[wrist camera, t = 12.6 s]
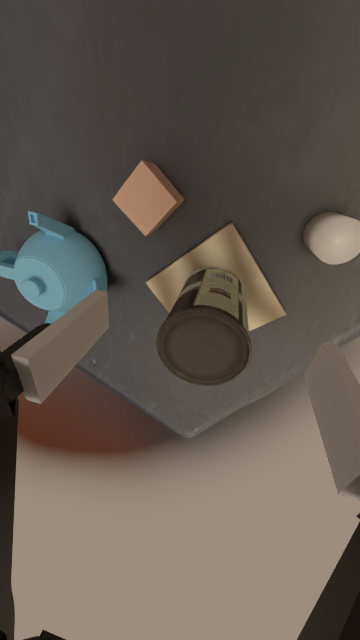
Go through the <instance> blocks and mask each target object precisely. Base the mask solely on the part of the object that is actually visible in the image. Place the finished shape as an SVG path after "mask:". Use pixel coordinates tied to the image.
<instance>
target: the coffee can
mask: <svg viewBox="0 0 360 640" xmlns="http://www.w3.org/2000/svg"><path fill="white" fill-rule="evenodd" d="M246 300H247V293H246V289H245V286H244V284H243V282H242V281H241V279H240V278H239V277H238V276H237V275H236V274H235V273H234V272H232V271H230V270H228V269H225V268H222V267H205V268H202V269H199V270H197V271H195V272H194V273H193V274H191V275H190V276H189V277H188V279H187V280H186V281H185V283H184V286H183V288H182V290H181V292H180V294H179V296H178V298H177V300H176V302H175V304H174V306H173V308H172V310H171V311H170V313H169V315H168V317H167V319H166V320H165V321H164V323H163V324H162V326H161V328H160V330H159V332H158V335H157V350H158V354H159V356H160V359H161V361H162V362H163V364H164V365H165V366H166V367H167V369H168V370H169V371H171V372H172V373H173V374H174V375H176V376H177V377H179V378H181V379H182V380H185V381H187V382H189V383H193V384H197V385H203V386H215V385H221V384H225V383H228V382H230V381H232V380H234V379H235V378H237V377H238V376H240V375H241V374H242V373H243V372H244V370H245V369H246V368H247V366H248V364H249V362H250V359H251V352H252V348H251V341H250V338H249V328H248V314H247V302H246Z"/></svg>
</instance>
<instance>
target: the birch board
mask: <svg viewBox="0 0 360 640" xmlns="http://www.w3.org/2000/svg"><path fill="white" fill-rule="evenodd" d="M205 267H222V268H225V269H228V270H230V271H232V272H234V273H235V274H236V275H237V276H238V277H239V278H240V279H241V281H242V282H243V284H244V286H245V289H246V293H247V300H246V302H247V314H248V328H249V331H251V330H253V329H255V328H258V327H260V326H262V325H264V324H266V323H269V322H271V321H273V320H275V319H278V318H280V317H282V316H284V315H286V313H285V310H284V308H283V307H282V305H281V303H280V301H279V300H278V298H277V296H276V295H275V293H274V291H273V290H272V288H271V286H270V285H269V283H268V281H267V279H266V278H265V276H264V274H263V273H262V271H261V269H260V268H259V266H258V264H257V263H256V261H255V259H254V257H253V256H252V254H251V252H250V251H249V249H248V247H247V246H246V244H245V242H244V240H243V239H242V237H241V235H240V234H239V232H238V230H237V229H236V227H235V225H234V224H233V222H231V223H229V224H228V225H226V226H225V227H223V228H222V229H221V230H219V231H218V232H216V233H215V234H213V235H212V236H211V237H209V238H208V239H206V240H205V241H203V242H202V243H201V244H199V245H198V246H196V247H195V248H193V249H192V250H190V251H189V252H188V253H186V254H185V255H183V256H182V257H180V258H179V259H178V260H176V261H175V262H173V263H172V264H170V265H169V266H168V267H166V268H165V269H163V270H162V271H160V272H159V273H158V274H156V275H155V276H153V277H152V278H150V279H149V280H148V281H147V282H146V284H147V285H148V287H149V288H150V289H151V290H152V292H153V293H154V294H155V296H156V297H157V298H158V299H159V301H160V302H161V303H162V305H163V306H164V307H165V308H166V310H167V311H168V312H169V313H170V311H171V310H172V308H173V306H174V304H175V302H176V300H177V298H178V296H179V294H180V292H181V290H182V288H183V286H184V283H185V281H186V280H187V279H188V277H189V276H190V275H191V274H193V273H194V272H195V271H197V270H199V269H202V268H205Z"/></svg>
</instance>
